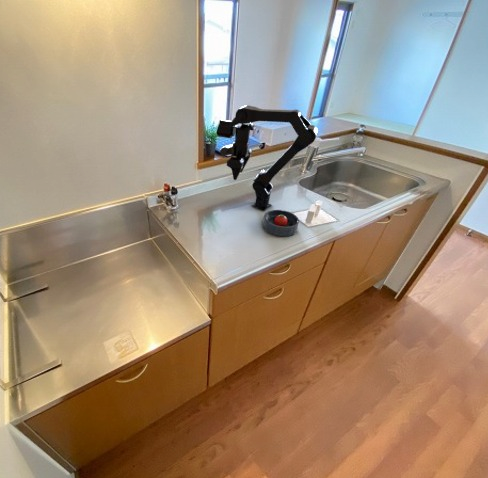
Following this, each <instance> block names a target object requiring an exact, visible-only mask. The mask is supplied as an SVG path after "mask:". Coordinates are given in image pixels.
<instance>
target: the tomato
mask: <svg viewBox="0 0 488 478" xmlns="http://www.w3.org/2000/svg"><path fill="white" fill-rule="evenodd" d="M274 224H275V225H277V226H282V227H285V226H286V224H287V218H286V217H285V216H284V215H283V214H280V215H278V216H277V217H276V218H275V219H274Z"/></svg>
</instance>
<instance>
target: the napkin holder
mask: <svg viewBox="0 0 488 478" xmlns="http://www.w3.org/2000/svg"><path fill="white" fill-rule="evenodd" d="M323 203H324V201H323V200H319V199H317V200H316V202H315V203H311V205H310V207H309V208H308V209H307V210H301V211H296V212H292V213H293V214H294V215H296V216H297V217H298V218H299V222H301V223H303V224H304V225H305V226H307V227H308V228H310V227H315V226H319V225H323V224H328V223H332V222H338V220H337V219H336V218H335V217H333V216H332V215H330V214H329V213H328V212H325V210H323V209H322V205H323Z"/></svg>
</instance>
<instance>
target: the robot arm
mask: <svg viewBox="0 0 488 478" xmlns="http://www.w3.org/2000/svg"><path fill="white" fill-rule="evenodd" d="M257 122H268V123H269V122H270V123H273V122H275V123H288V124H290V125H291V127H292V128H293V130H294V132H295V134H296V135H297V136H296V138H295V140H294V141H293V143H292V144H291V145H290V146H289V147H288V148H287V149H286V150H285V151H284V153H283V154H281V156H280V157H278V159H277V160H276V161H275V162H274V163H272V165H271V166H270V167H268V169H266V170H264V168H262V170H261V171H260V173H258V174H257V175H256V176H255V177H254V178H253V181H252V185H251V186H252V189H253V190H254V193H255V202H254V203H252V204H251V206H252V207H254V208H256V209H257V210H261V211H264V212H265V211H266V210H267V209H269V208H271V207H272V204H271V203H270V199H271V192H272V191H273V190H274V186H273V184H272V183H271V182H272V180H273V179H274V178H275V176H276V175H277V174H278V173H279V172H281V170H282V169H283V168H284V167H286V165H287V164H289V162H290V161H291V160H292V159H293V158H294V157H295V156H296V155H297V154H299V153H300V152H302V151H303V150H305V149H306V148H308V147H309V146H310V145H312V144H313V143H314V142H315V140H316V138H317V136H318V134H319V130H318V128H317V126H316V125H314V124H311V122H309V120H308V119H307V118H306V117H304V115H303V114H302V112H301V111H300V110H299V109H267V108H266V109H263V108H259V107H257V106H254V105H253V106H252V105H250V104H247V105H244V106H241V107H240V108H238V109H237V110H236V112H235V117H233V119H232V120H226V119H224V118H221V119H220V120H219V123H218V126H217V127H216V128H217V129H216V136H217V138H224V139H232V138H233V137H234V142H233V143H232V144H228V145H224V146H221V148H219V155H221V157H225V156H229V155H230V157H229V158H228V159H227V160H226V167H228V168H229V169H231V174H232V178H233V181H237V179H238V177H239V175H240V174H241V173H243V170H244V169H245V167H246V165H247V164H248V163H249V160H250V158H251V156H252V152H253V149H252V148H251V147H249V145H250V144H251V142H250V135H251V131H254V130H255V129H256V127H257V126H256V125H255V124H254V123H257ZM240 124H241V125H240Z"/></svg>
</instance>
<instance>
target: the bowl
mask: <svg viewBox="0 0 488 478" xmlns="http://www.w3.org/2000/svg"><path fill="white" fill-rule="evenodd" d="M293 213H294V212H290V211H289V210H288V211H287V210H284V209H271V210H268V211H266V212H265V213H264V215H263V220H262V228H263V229H264V230H265V231H266V232H267V233H269V234H271V235H274V236H278V237H291V236H293V235H295V234H296V233H297V231H298V228H299V225H300V220H299V218H298V217H297V216H296V215H294V214H293ZM280 214H283V215H284V216H285V217H286V218H287V224H286V226H285V227H282V226H277V225H275V224H274V219H275V218H276V217H277V216H278V215H280Z"/></svg>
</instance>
